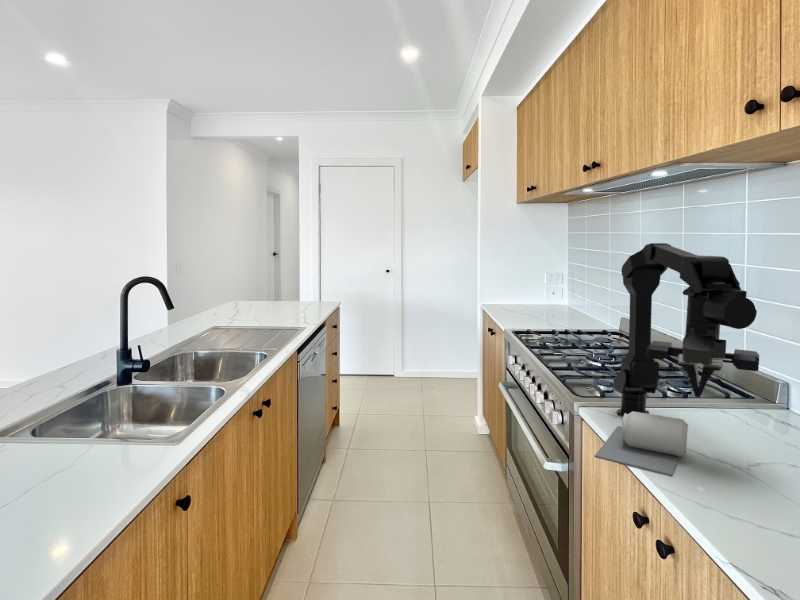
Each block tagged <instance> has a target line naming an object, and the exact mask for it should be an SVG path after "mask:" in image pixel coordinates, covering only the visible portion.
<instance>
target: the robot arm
mask: <svg viewBox="0 0 800 600" xmlns="http://www.w3.org/2000/svg"><path fill="white" fill-rule="evenodd" d="M668 269H670V270H673V271H674V272H677V273H679V278H680V280H682V281H683V282H684V283H685V284H686V285H688V287H687V288H685V289H684V290H683V291H682V295H684V296H687V303H686V304H687V307H686V321H685V335H684V337H683V339H682V347H677V346H676V347H675V346H673V342H669V341H659V340H653V341H652V339H651V337H652V309H653V308H652V305H653V303H652V302H653V301H652V300H653V295H654V293H655V292H656V290H657V288H658V287H659V286H660V283H661V276H662V275H664V273H665V272H666V271H667V270H668ZM621 276H622V283H623V286H624V287H625V289H626V291H627V292H628V293H629V321H628V322H629V324H628V325H629V327H628V329H629V330H628V331H629V332H628V352H627V353H626V355H625V356H624V358H623V359H622V361H621V365H620V370H619V372H618V373H617V375H615V377H614V378H613V380H612V382H613V389H614V390H616V391H618V392H619V393H620V394H621V397H620V398H621V399H620V408H619V410H617V411H616V415H617V416H621V417H622V416H623V417H624V414H625V413H626V414H629V413H631V412H632V411H634V412H640V413H646V414H650V411H649V410H647V408H646V407H647V394H655V393H656V391H657V388H658V384H659V381H660V374H659V370H660V369H659V368H660V363H659V361H656V360H664V359H666V358H667V357H668V356H669V357H670V356H671V357H678V358H677V359H678V362H677V366H680V367H683V369H684V370H685V371H686V374H687V375H688V378H689V380H690V384H691V387H692V391H693V393H694V396H695V398H700V399H701V396H702V394H703V392H704V389H705V387H706V385H707V382H708V381H709V379H710V378H711V376H712V374H713V373H714V372H715V371H719V372H720V371H722V368H723V367H724V366H723V365H724V363H728V364H732V365H733V366H734V367H735V368H736V369H737V370H743V371H750V372H759V366H760V354H759V353H758V352H757V351H756V350H746V349H737V348H736V349H735V348H734V351H733V353H731V352H727V340H726V339H720V333H721V326H724V327H728V328H732V329H737V330H742V329H746V328H748V327H749V326H751V325H752V324H753V323H754V321H755V319H756V317H757V312H758V311H757V309H756V305H755V304H754V302H753V301H752V300H751V299H750V298H748V297H747V291H746V290H743V289H741V286H740V284H741V282H739V280H738V278H737V277H736V275H735V271H734V270H733V267H732V265H731V263H730V260H729V259H728V258H727V257H726V256H720V255H719V256H718V255H717V256H716V255H698V254H694V253H691V252H689V251H686V250H683V249H681V248H677V247H675V246H672V245H671V244H670V243H666V242H664V243H663V242H658V243H656V242H655V243H654V242H653V243H651V242H650V243H649V244H646V245H644V247H643V248H642V249H640V250H638V251H637V252H635V253H633V254H632V255H630V256H628V258H627V259H626V261H625V262H624V263H623V264H622V266H621ZM698 364H699V365H700V364H701V365H703V366H702V371H701V376H700V381H699V365H698Z"/></svg>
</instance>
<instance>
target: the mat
mask: <svg viewBox="0 0 800 600" xmlns="http://www.w3.org/2000/svg"><path fill="white" fill-rule="evenodd" d="M594 458H596V459H600V460H603V461H604V460H605V461H609V462H612V463H617V464H620V465H626V466H628V467H632V468H637V469H641V470H645V471H648V472H652V473H657V474H661V475H664V476H669V477H673V475H674V473H675V469H676V467H677V464H678V462H679V459H680V456H675V455H670V454H665V453H660V452H655V451H650V450H645V449H640V448H634V447H630V446H629V445H628V444H627V443H626V442H622V426H619V425H617V427H616V428H615V429H614V430H613V432H612V433H611V434H610V436H608V438H607V439H606V440H605V441H604V443H603V444H602V445H601V447H600V448H599V450H598V451H596V453H595V455H594Z"/></svg>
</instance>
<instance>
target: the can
mask: <svg viewBox="0 0 800 600" xmlns="http://www.w3.org/2000/svg"><path fill="white" fill-rule="evenodd" d="M621 427H622V442H626V443H627V444H628V445H629V446H630V447H634V448H640V449H645V450H650V451H655V452H660V453H665V454H670V455H675V456H680V457H682V456H683V455H686V454H687V443H688V429H689V424H688V423H687V422H686V421H685V419H682V418H676V417H670V416H663V415H660V414H659V415H658V414H657V415H656V414H651V413H649V414H646V413H640V412H634V411H632V412H631V413H629V414H626V413H625V414H624V416H623V417H622V424H621ZM680 457H679V458H680Z"/></svg>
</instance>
